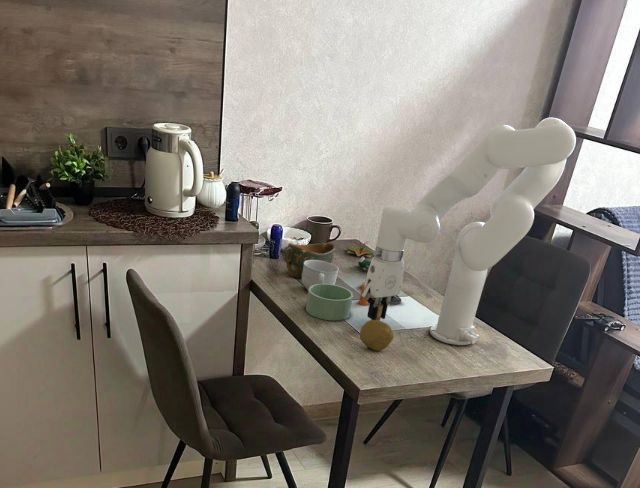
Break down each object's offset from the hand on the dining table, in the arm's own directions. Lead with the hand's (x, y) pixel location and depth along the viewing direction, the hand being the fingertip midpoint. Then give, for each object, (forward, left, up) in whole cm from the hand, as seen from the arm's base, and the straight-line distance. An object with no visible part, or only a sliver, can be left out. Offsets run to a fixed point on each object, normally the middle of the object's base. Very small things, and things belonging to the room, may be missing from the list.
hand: (376, 317), depth 204 cm
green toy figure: (+37, -28, -2) cm, 46 cm away
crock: (+12, +8, -2) cm, 15 cm away
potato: (-13, +11, -2) cm, 17 cm away
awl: (0, 0, -2) cm, 2 cm away
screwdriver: (+14, -7, -2) cm, 16 cm away
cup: (+41, -4, -2) cm, 41 cm away
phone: (+18, -17, -2) cm, 25 cm away
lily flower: (+53, -36, -2) cm, 64 cm away
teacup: (+26, +2, -2) cm, 26 cm away
